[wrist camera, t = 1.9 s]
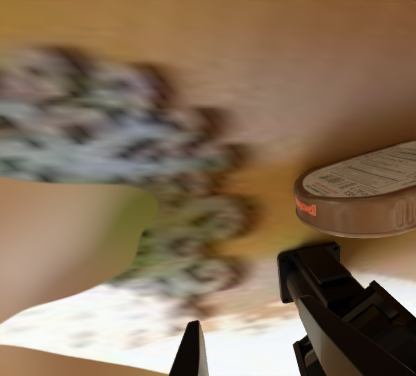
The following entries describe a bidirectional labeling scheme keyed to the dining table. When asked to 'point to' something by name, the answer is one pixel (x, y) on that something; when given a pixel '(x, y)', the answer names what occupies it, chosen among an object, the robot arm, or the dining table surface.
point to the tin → (361, 194)
